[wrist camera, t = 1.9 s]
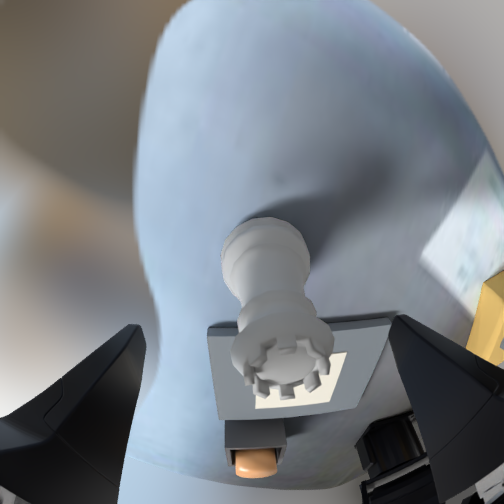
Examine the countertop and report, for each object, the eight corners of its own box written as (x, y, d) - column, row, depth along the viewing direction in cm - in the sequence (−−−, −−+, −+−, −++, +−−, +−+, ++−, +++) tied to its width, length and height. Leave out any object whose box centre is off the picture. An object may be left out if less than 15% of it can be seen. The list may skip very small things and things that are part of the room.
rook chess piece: (312, 218, 14) (385, 315, 6) (297, 293, 16) (335, 411, 8) (223, 209, 13) (208, 311, 6) (218, 288, 15) (208, 413, 8)
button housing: (283, 417, 21) (287, 445, 19) (278, 440, 24) (281, 464, 21) (225, 420, 21) (224, 447, 18) (228, 442, 23) (228, 466, 21)
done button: (276, 442, 20) (278, 465, 17) (273, 456, 21) (275, 476, 19) (234, 444, 19) (235, 467, 17) (236, 458, 21) (236, 478, 19)
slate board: (387, 317, 17) (393, 325, 16) (353, 401, 21) (355, 408, 20) (207, 327, 16) (206, 337, 16) (219, 412, 21) (218, 420, 20)
